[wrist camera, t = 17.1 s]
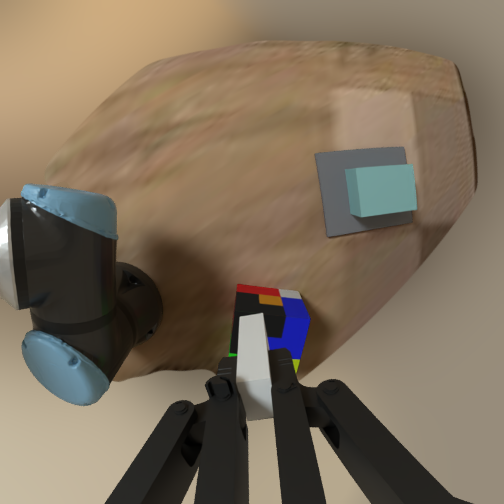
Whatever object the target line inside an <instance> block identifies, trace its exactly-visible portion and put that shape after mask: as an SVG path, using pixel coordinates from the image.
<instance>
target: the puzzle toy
mask: <svg viewBox="0 0 504 504" xmlns="http://www.w3.org/2000/svg"><path fill="white" fill-rule="evenodd" d="M260 313H263V317H264V322H265V327H266V333H267V338H268V344H269V350H273V349H279V348H285V347H286V348H287V349H288V350H289V351H290V352H291V356H292V360H293V364H294V368H295V372H297V369H298V365H299V362H300V358H301V354H302V351H303V347H304V343H305V339H306V335H307V332H308V328H309V324H310V320H311V318H310V316H309V314H308V312H307V309H306V307H305V305H304V303H303V300H302V298H301V296H300V294H299V291H291V290H283V289H274V288H266V287H257V286H249V285H241V284H237V291H236V299H235V307H234V315H233V323H232V331H231V339H230V348H229V357H231V356H238V338H239V320H240V317H242V316H248V315H254V314H260Z"/></svg>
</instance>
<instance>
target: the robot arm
mask: <svg viewBox="0 0 504 504" xmlns="http://www.w3.org/2000/svg"><path fill="white" fill-rule="evenodd" d="M21 196H22V198H12V199H7V200H6V201H5V202H4V203H3V205H2V206H1V207H0V298H1V299H3V300H5V301H6V302H7V303H8V304H9V305H11V306H12V307H13V308H14V309H16V310H21V309H27V308H30V312H31V319H32V323H33V330H31V331H29V332H27V333H26V335H25V338H24V340H23V342H22V354H23V357H24V360H25V362H26V364H27V366H28V368H29V369H30V371H31V372H32V374H33V375H34V376H35V378H36V379H37V380H38V381H39V382H40V383H41V384H42V385H43V386H44V387H45V388H46V389H48V390H49V391H50V392H51V393H52V394H54V395H55V396H57V397H59V398H60V399H62V400H64V401H66V402H69V403H71V404H75V405H79V406H88V405H91V404H93V403H96V402H97V401H98V400H99V399H100V398H101V397H102V395H103V394H104V393H105V392H106V391H107V390H108V389H109V385H110V383H111V382H112V380H113V378H114V377H115V375H116V373H117V372H118V370H119V369H120V367H121V365H122V364H123V362H124V361H125V359H126V357H127V356H128V354H129V353H130V351H131V349H132V348H134V347H136V346H138V345H140V344H141V343H143V342H145V341H147V340H148V339H149V338H150V337H151V336H152V335H153V334H154V333H155V331H156V330H157V328H158V326H159V324H160V322H161V319H162V314H163V306H162V300H161V297H160V294H159V292H158V290H157V288H156V286H155V284H154V283H153V282H152V280H151V279H150V278H149V277H148V276H147V275H146V274H145V273H144V272H143V271H141V270H140V269H138V268H137V267H135V266H133V265H130V264H127V263H123V262H116V247H117V240H118V235H117V209H116V205H115V203H114V202H113V200H112V199H111V198H109V197H108V196H105V195H102V194H98V193H93V192H88V191H82V190H76V189H70V188H63V187H57V186H49V185H37V184H26V185H25V186H24V187H23V190H22V192H21ZM205 387H206V390H207V392H208V395H209V400H207V401H206V402H203V403H200V404H197V405H193V403H191V402H190V401H187V400H181V401H177V402H175V403H173V404H171V406H170V407H169V408H168V409H167V411H166V412H165V414H164V416H163V417H162V419H161V420H160V421H159V423H158V424H157V426H156V428H155V429H154V431H153V432H152V434H151V435H150V437H149V438H148V440H147V441H146V443H145V444H144V446H143V447H142V449H141V450H140V452H139V453H138V455H137V456H136V458H135V459H134V461H133V462H132V464H131V465H130V467H129V468H128V470H127V471H126V473H125V474H124V476H123V477H122V479H121V480H120V482H119V483H118V485H117V486H116V488H115V489H114V490H113V492H112V494H111V495H110V496H109V498H108V499H107V501H106V502H105V504H181V503H182V501H183V499H184V497H185V495H186V493H187V491H188V489H189V486H190V484H191V482H192V480H193V478H194V476H195V474H196V472H197V469H198V467H199V472H198V478H197V486H196V494H195V501H194V504H249V474H248V428H247V424H246V417H247V420H248V421H253V420H261V419H268V418H274V427H275V437H276V447H277V456H278V467H279V478H280V488H281V498H282V504H326V499H325V495H324V490H323V486H322V481H321V476H320V472H319V467H318V463H317V459H316V454H315V450H314V445H313V441H312V436H311V432H310V428H309V427H319V429H320V431H321V432H322V434H323V435H324V437H325V438H326V440H327V441H328V443H329V444H330V446H331V447H332V449H333V450H334V452H335V453H336V454H337V456H338V458H339V459H340V460H341V462H342V463H343V465H344V466H345V468H346V469H347V470H348V472H349V473H350V475H351V476H352V478H353V479H354V480H355V482H356V483H357V484H358V486H359V487H360V489H361V490H362V491H363V493H364V494H365V496H366V497H367V498H368V500H369V501H370V503H371V504H472V503H470V502H467V501H464V500H461V499H458V498H455V497H453V496H452V495H451V494H450V493H449V492H448V491H447V490H446V489H445V488H444V487H443V486H442V485H441V484H440V483H439V482H438V481H437V480H436V479H435V478H434V477H433V476H432V475H431V474H430V473H429V472H428V471H427V470H426V469H425V468H424V467H423V466H422V465H421V464H420V463H419V462H418V461H417V460H416V459H415V458H414V457H413V456H412V454H411V453H410V452H409V451H408V450H407V449H406V448H405V447H404V446H403V445H402V444H401V443H400V442H399V441H398V440H397V439H396V438H395V437H394V436H393V435H392V434H391V433H390V432H389V431H388V429H387V428H386V427H385V426H384V425H383V424H382V423H381V422H380V421H379V420H378V419H377V418H376V417H375V416H374V415H373V414H372V412H371V411H370V410H369V409H368V408H367V407H366V406H365V405H364V404H363V403H362V402H361V401H360V400H359V398H358V397H357V396H356V395H355V394H354V393H353V392H352V391H351V390H350V389H349V388H348V387H347V386H346V385H345V384H344V383H343V382H342V381H340V380H336V379H329V380H326V381H323V382H322V383H320V384H319V385H318V387H306V386H303V385H301V384H300V383H299V382H298V380H297V377H296V372H295V368H294V364H293V360H292V356H291V352H290V351H289V350H288V349H287V348H286V347H285V348H279V349H273V350H269V344H268V338H267V333H266V327H265V322H264V317H263V313H260V314H254V315H248V316H242V317H240V320H239V338H238V356H231V357H223V358H222V360H221V361H220V362H219V365H218V372H217V376H214V377H212V378H210V379H209V380H208V381H207V382H206V384H205Z"/></svg>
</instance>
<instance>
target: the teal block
mask: <svg viewBox="0 0 504 504" xmlns="http://www.w3.org/2000/svg"><path fill="white" fill-rule="evenodd" d="M345 174H346V181H347V188H348V196H349V204H350V213H351V214H352V215H356V216H359V217H368V216H374V215H381V214H389V213H396V212H403V211H410V210H417V200H416V188H415V179H414V170H413V164H406V165H389V166H375V167H363V168H353V169H345Z"/></svg>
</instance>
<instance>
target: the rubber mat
mask: <svg viewBox="0 0 504 504" xmlns="http://www.w3.org/2000/svg"><path fill="white" fill-rule="evenodd" d="M315 159H316V165H317V171H318V177H319V183H320V189H321V196H322V203H323V210H324V217H325V225H326V233H327V237H331V236H336V235H342V234H348V233H354V232H360V231H365V230H371V229H377V228H383V227H389V226H394V225H400V224H406V223H412V222H413V221H412V210H410V211H403V212H396V213H389V214H381V215H374V216H368V217H359V216H356V215H352V214H351V213H350V204H349V196H348V188H347V181H346V174H345V169H353V168H363V167H375V166H389V165H406V164H407V163H406V156H405V150H404V147H386V148H369V149H356V150H344V151H334V152H324V153H315Z"/></svg>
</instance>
